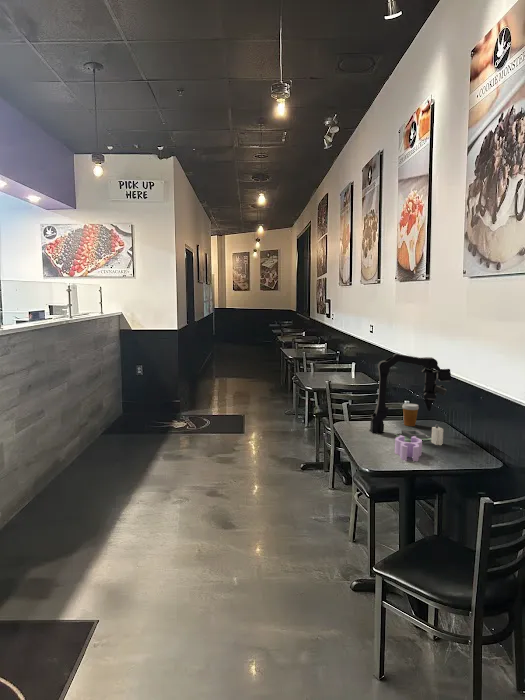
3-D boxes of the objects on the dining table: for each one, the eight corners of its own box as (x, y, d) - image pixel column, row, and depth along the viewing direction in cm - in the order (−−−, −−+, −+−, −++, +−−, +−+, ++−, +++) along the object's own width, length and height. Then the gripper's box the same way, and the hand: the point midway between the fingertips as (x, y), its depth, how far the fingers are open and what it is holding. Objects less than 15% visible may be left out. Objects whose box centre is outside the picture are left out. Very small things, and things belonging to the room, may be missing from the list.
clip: (423, 462, 248) (424, 448, 247) (395, 460, 250) (396, 446, 249) (420, 450, 267) (420, 436, 266) (394, 448, 269) (394, 434, 269)
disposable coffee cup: (403, 422, 323) (404, 402, 322) (419, 424, 319) (420, 404, 318) (399, 425, 315) (400, 405, 313) (416, 427, 310) (417, 407, 309)
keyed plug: (437, 445, 275) (437, 426, 274) (431, 442, 281) (432, 424, 280) (443, 444, 276) (444, 426, 275) (437, 441, 282) (438, 423, 281)
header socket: (410, 439, 283) (410, 435, 283) (401, 434, 293) (401, 430, 293) (425, 438, 285) (425, 434, 285) (416, 433, 295) (416, 429, 295)
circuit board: (404, 441, 282) (404, 438, 282) (394, 435, 293) (394, 432, 293) (432, 440, 285) (432, 437, 285) (421, 434, 297) (421, 431, 297)
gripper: (446, 384, 282) (445, 413, 284) (445, 379, 300) (443, 406, 302) (424, 383, 285) (423, 412, 287) (424, 377, 303) (423, 405, 305)
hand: (429, 408), depth 295 cm, fingers open, 9 cm apart
